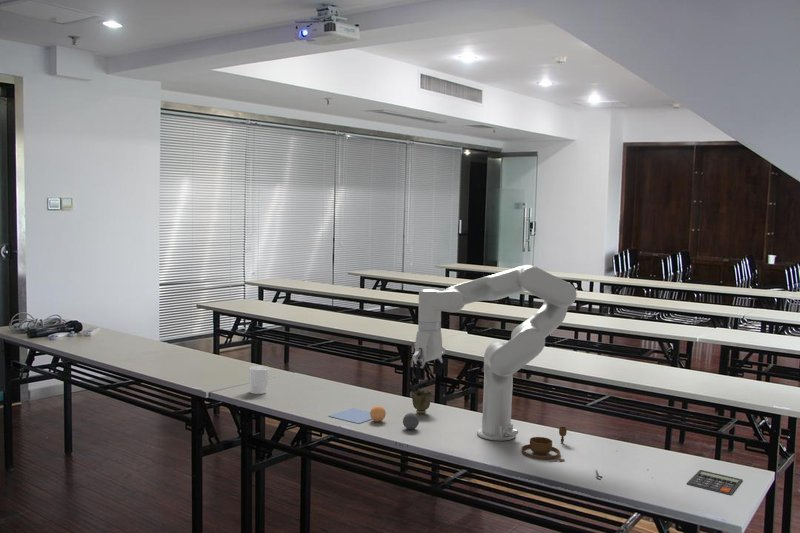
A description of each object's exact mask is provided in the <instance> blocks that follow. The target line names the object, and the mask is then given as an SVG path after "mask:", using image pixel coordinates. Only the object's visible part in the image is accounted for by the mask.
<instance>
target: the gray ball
mask: <svg viewBox="0 0 800 533" xmlns="http://www.w3.org/2000/svg"><path fill="white" fill-rule="evenodd" d="M402 424H403V426H404V428H405V429H408V430H411V431H412V430H414V429H416V428H417V427H418V426H419V424H420V420H419V417H418V415H417V414H415V413H412V412H409V413H406V414H405V415H404V416H403V419H402Z"/></svg>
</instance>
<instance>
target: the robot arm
mask: <svg viewBox="0 0 800 533" xmlns="http://www.w3.org/2000/svg"><path fill="white" fill-rule="evenodd" d="M524 292H528V293H529V294H532V295H533V296H535V297H538V298H539V299H541V300H543V303H542V305H541V307H540V308H539V309H537V311H536V312H535V313H533V314H532V315H531V316H529V317H528V318H527V319H525V320H524V321H523V322H521V323H520V324H519V325H517V326H516V327H514V329H513V330H512V331H511V335H510V339H509V340H508V341H507V342H506V343H505V342H502V341H494V342H492V343H490V344H489V345H488V346H487V347H486V349H485V352H484V354H483V373H484V374H483V375H484V376H483V377H484V378H483V396H482V397H483V400H482V416H481V417H482V418H481V419H482V420H481V427H480V428H477V431H476V434H477V436H478V437H480V438H481V439H482V438H483V439H484V440H485V439H486V440H490V441H499V442H500V441H501V442H502V441H510V440H513V439H514V438H516V436H517V435H518V434H519V431H518V430H517V429H514V423H513V424H512V402H513V401H512V400H513V388H514V387H513V383H514V382H513V380H514V379H513V378H514V377H513V376H514V374H516V373H517V372H518V371H520V370H521V369H522V368H523V367H525V366H526V365H527V364H529V363H530V362H531V361H533V360H534V359H535V358H537V357H538V356H539V354H540V353H541V352H542V351H543V350H544V348H545V345H546V338H547V337H549V335H551V334H552V333H553V332H554V331H555V330H556V329H558V328H559V327H560V326H561V325H562V323H563V322H564V320H565V318H566V315H567V312H568V308H569V307H571V306H572V305H573V304H574V303H575V301H576V299H577V297H578V296H577V290H576V287H575V286H574V285H573V284H571V283H570V282H568V281H566V280H564V279H561V278H560V277H558V276H555V275H553V274H551V273H549V272H547V271H545V270H544V269H542V268H539V267H538V266H535V265H531V264H524V265H523V264H522V265H520V266H517V267H514V268H510V269H506V270H504V271H500V272H497V273H494V274H491V275H487V276H483V277H480V278H476V279H472V280H468V281H464V282H462V283H458V284H455V285H452V286H449V287H447V288H445V289H444V290H443V291H442V290H439V289H434V288H424V289H421V290H419V292H418V322H417V323H418V324H417V326H418V329H417V332H416V337H415V345H414V347H415V348H414V354H412V358H411V359H412V360H413V364H414V367H415V378H416V380H420V381H424V380H425V379H426V377H425V376H426V368H425V365H426V363H427V362H430V361H431V362H433V364H432V374H433V375H436V376H442V372H443V363H444V359H445V354H446V353H445V352H446V348H444V347H443V339H442V337H443V336H442V330H441V329H442V312H447V313H458V312H460V311H461V310H462V309H464V307H465V306H466V305H468V304H472V303H476V302H481V301H486V302H487V301H490V302H491V301H493V302H494V301H496V300H498V301H499V300H502V299H505V298H507V297H511V296H513V295H517V294H521V293H524Z"/></svg>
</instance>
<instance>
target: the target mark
mask: <svg viewBox="0 0 800 533" xmlns="http://www.w3.org/2000/svg"><path fill="white" fill-rule="evenodd" d="M328 417H329V418H332V419H333V418H334V419H338V420H342V421H346V422H349V423H354V424H357V425H359V424H363V423H366V422H368V421H372V420H373V419H372V418H371V416H370V411H367V410H362V409H359V408H354V407H352V408H349V409H345V410H343V411H339V412H335V413H332V414H330V415H328Z"/></svg>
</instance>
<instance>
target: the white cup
mask: <svg viewBox="0 0 800 533" xmlns="http://www.w3.org/2000/svg"><path fill="white" fill-rule="evenodd" d="M248 370H249V371H248V372H249V376H248V377H249V378H248V379H249V380H248V381H249V392H250V394H255V395H262V394H266V393H268V385H269V374H270V373H269V372H270V367H268V366H266V365H254V366H250V367H249V368H248Z"/></svg>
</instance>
